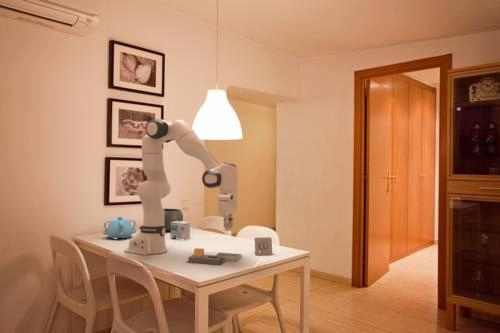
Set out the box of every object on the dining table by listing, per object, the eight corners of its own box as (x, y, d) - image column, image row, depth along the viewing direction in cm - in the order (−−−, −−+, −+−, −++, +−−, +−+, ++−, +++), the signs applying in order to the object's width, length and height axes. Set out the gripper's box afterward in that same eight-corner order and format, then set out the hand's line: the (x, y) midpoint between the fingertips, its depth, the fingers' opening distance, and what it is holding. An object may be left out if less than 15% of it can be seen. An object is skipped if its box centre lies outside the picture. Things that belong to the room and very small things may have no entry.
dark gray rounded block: (168, 234, 252) (169, 212, 252) (147, 231, 262) (147, 209, 262) (188, 230, 269) (188, 209, 269) (167, 227, 280) (168, 207, 280)
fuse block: (184, 264, 176) (185, 257, 176) (191, 260, 183) (191, 253, 183) (221, 267, 171) (221, 260, 171) (226, 263, 179) (226, 256, 179)
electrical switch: (255, 255, 196) (255, 237, 197) (253, 254, 201) (253, 237, 202) (272, 255, 198) (272, 237, 198) (270, 254, 203) (270, 236, 204)
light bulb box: (170, 238, 236) (170, 221, 236) (175, 237, 243) (176, 220, 243) (184, 240, 232) (184, 223, 232) (190, 238, 239) (190, 221, 239)
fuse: (193, 261, 178) (194, 249, 178) (195, 260, 180) (195, 248, 180) (202, 262, 177) (202, 249, 177) (203, 261, 179) (204, 248, 179)
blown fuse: (223, 230, 184) (223, 218, 184) (224, 229, 186) (225, 217, 186) (231, 230, 183) (231, 218, 183) (232, 230, 185) (233, 218, 185)
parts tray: (213, 261, 182) (213, 256, 182) (218, 257, 191) (219, 252, 191) (236, 263, 179) (236, 258, 179) (241, 259, 188) (241, 254, 188)
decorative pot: (120, 234, 247) (120, 214, 247) (138, 237, 240) (138, 216, 240) (100, 238, 233) (100, 217, 233) (119, 241, 226) (119, 219, 226)
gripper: (228, 193, 196) (228, 219, 196) (216, 196, 176) (215, 225, 176) (240, 194, 194) (239, 220, 194) (229, 197, 174) (228, 226, 174)
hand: (228, 223), depth 185 cm, fingers closed on blown fuse, 2 cm apart
